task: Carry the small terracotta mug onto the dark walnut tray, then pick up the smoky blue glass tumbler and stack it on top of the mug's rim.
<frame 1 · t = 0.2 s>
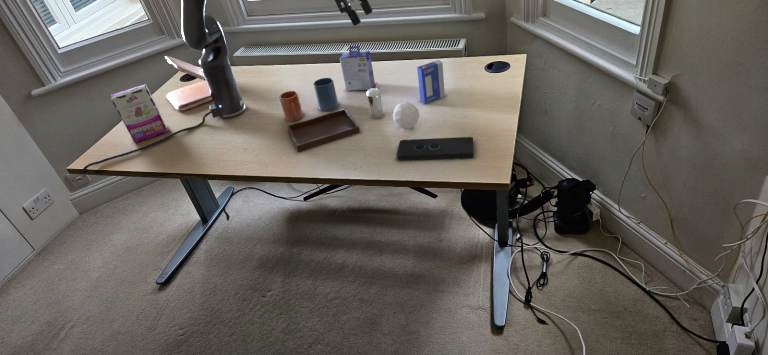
hand: (363, 18, 128), 31 cm above the table, tool tilted 20°, fingers open, 8 cm apart
case: (199, 96, 182), on the table
candy bar box: (151, 135, 160), on the table
ink cartridge box: (360, 87, 167), on the table
smart home device: (435, 151, 126), on the table
geometric ball: (407, 127, 139), on the table
glass: (329, 106, 158), on the table
milkshake: (378, 116, 148), on the table
walkman: (432, 99, 152), on the table
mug: (294, 116, 155), on the table
tray: (323, 132, 144), on the table
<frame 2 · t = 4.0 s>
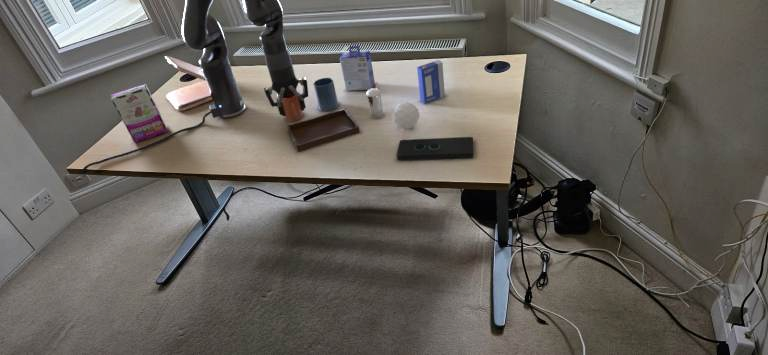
hand: (293, 112, 154), 2 cm above the table, tool pointing down, fingers closed on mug, 6 cm apart
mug: (294, 116, 155), on the table, touching gripper
everything else where it was.
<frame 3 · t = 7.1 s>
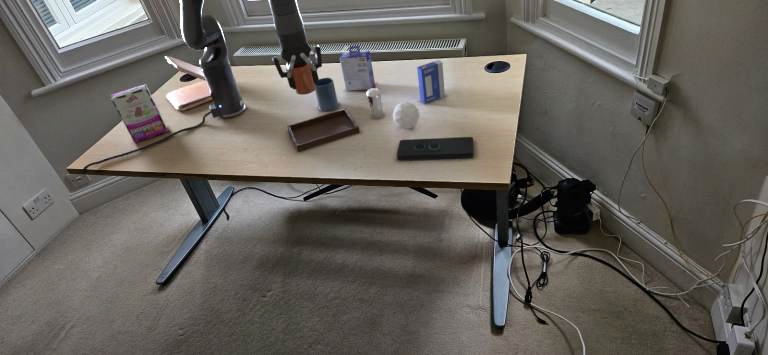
hand: (304, 85, 137), 15 cm above the table, tool pointing down, fingers closed on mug, 6 cm apart
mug: (306, 90, 138), point 13 cm above the table, touching gripper
everything else where it was.
when the fingers open (2 cm above the table, at t = 10.6 s): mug stays where it is, resting on tray.
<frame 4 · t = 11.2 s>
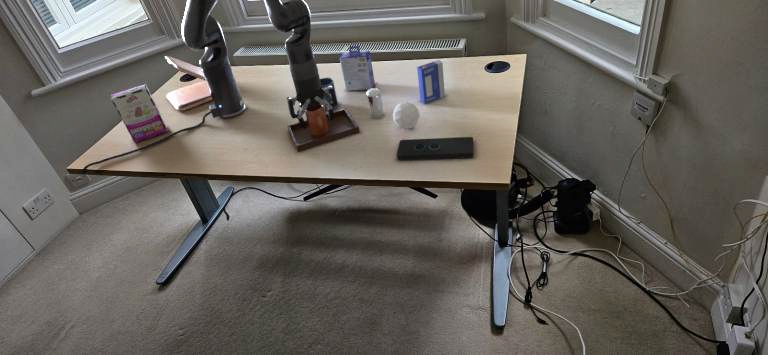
hand: (317, 123, 142), 3 cm above the table, tool pointing down, fingers open, 8 cm apart
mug: (319, 130, 144), point 1 cm above the table, touching tray
everything else where it was.
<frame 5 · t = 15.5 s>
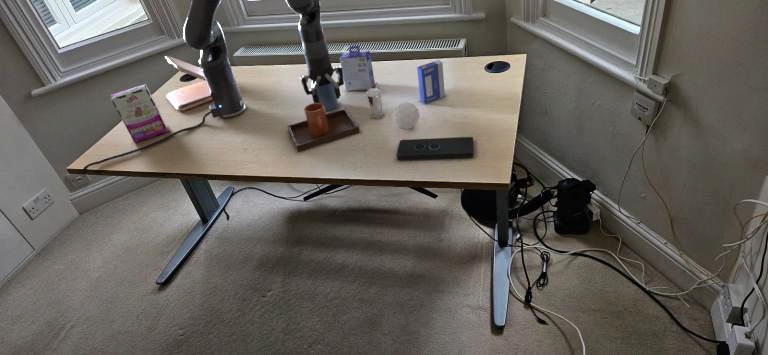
hand: (327, 100, 156), 2 cm above the table, tool pointing down, fingers closed on glass, 6 cm apart
glass: (329, 106, 158), on the table, touching gripper
everything else where it was.
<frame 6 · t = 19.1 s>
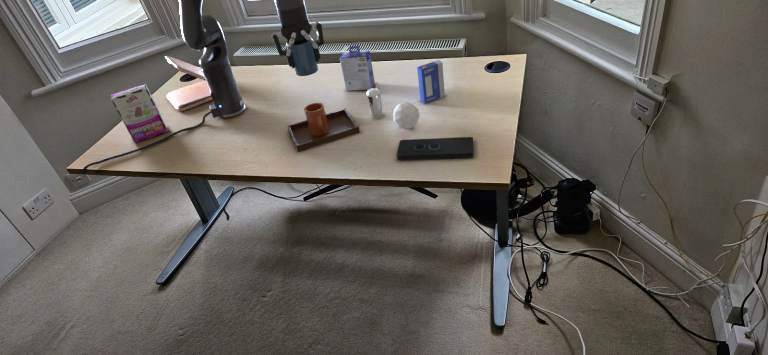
hand: (305, 64, 133), 21 cm above the table, tool pointing down, fingers closed on glass, 6 cm apart
glass: (307, 71, 135), point 19 cm above the table, touching gripper
everything else where it was.
when the fingers open (11 cm above the table, at t = 22.7 s): glass stays where it is, resting on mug.
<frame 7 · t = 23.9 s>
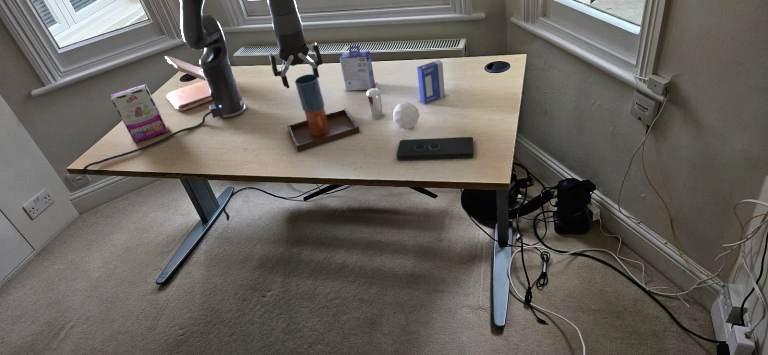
hand: (301, 83, 137), 16 cm above the table, tool pointing down, fingers open, 8 cm apart
glass: (313, 107, 139), point 9 cm above the table, touching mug
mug: (319, 130, 144), point 1 cm above the table, touching glass, tray
everything else where it was.
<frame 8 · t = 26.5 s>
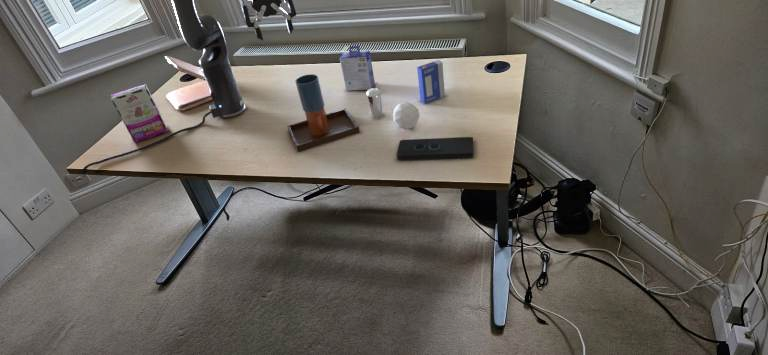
hand: (276, 36, 136), 28 cm above the table, tool pointing down, fingers open, 8 cm apart
nothing on the table moved.
at the end: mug inside the target area in the tray (1.1 cm from its centre), point 0.6 cm above the tray's base; glass 0.0 cm off-centre on the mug, point 8.0 cm above the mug's base; glass tilted 0° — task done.
